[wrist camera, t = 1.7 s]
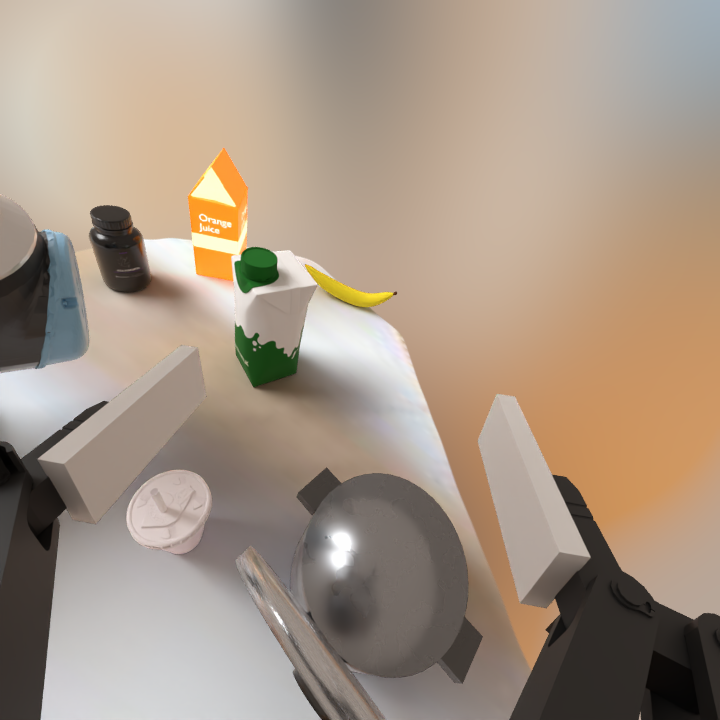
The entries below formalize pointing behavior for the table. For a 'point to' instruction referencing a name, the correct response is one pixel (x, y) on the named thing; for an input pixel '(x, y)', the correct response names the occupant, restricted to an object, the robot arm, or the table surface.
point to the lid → (305, 646)
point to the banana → (347, 290)
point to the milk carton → (269, 312)
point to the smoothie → (170, 511)
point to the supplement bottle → (119, 249)
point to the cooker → (384, 577)
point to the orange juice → (218, 218)
